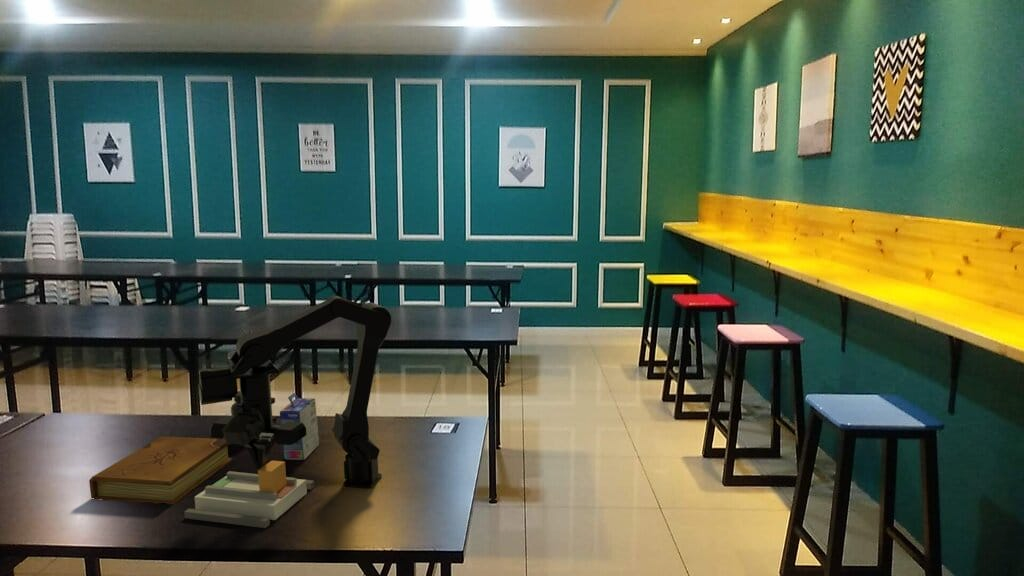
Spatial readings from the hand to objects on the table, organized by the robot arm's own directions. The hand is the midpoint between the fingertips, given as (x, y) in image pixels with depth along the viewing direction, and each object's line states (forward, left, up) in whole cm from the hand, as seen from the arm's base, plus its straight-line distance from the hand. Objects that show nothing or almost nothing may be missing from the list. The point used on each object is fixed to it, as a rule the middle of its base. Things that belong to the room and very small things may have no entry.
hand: (260, 469), depth 144 cm
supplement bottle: (+26, -32, -8) cm, 42 cm away
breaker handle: (-3, 0, -4) cm, 5 cm away
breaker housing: (+3, 0, -7) cm, 8 cm away
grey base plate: (+3, 0, -7) cm, 8 cm away
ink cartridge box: (+7, -26, -8) cm, 28 cm away
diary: (+28, -6, -8) cm, 30 cm away
